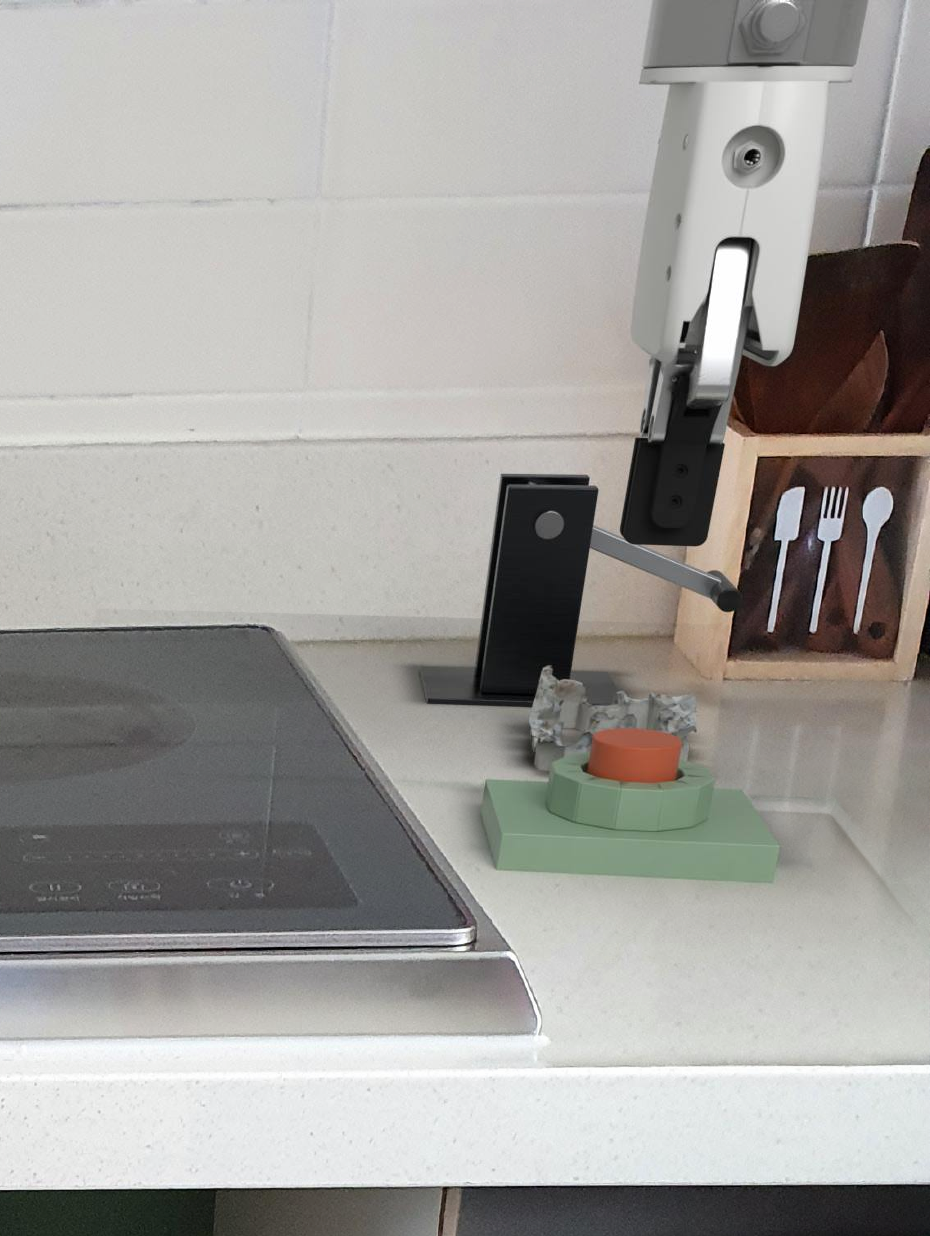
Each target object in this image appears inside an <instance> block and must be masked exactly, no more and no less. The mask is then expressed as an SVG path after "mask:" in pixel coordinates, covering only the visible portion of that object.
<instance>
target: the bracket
mask: <svg viewBox="0 0 930 1236" xmlns="http://www.w3.org/2000/svg"><path fill="white" fill-rule="evenodd" d="M590 480H591V478H590V475H588V474H573V473H571V474H568V473H567V474H565V473H564V474H563V473H562V474H561V473H559V474H558V473H557V474H556V473H500V477H499V483H498V484H499V485H498V491H497V500H496V507H495V514H494V521H493V529H492V537H491V542H490V543H491V545H490V551H489V559H488V567H487V573H486V582H485V588H484V597H483V604H482V612H481V618H480V619H481V620H480V628H479V635H478V641H477V649H476V657H475V663H474V667H463V666H462V667H459V666H457V667H456V666H431V665H429V666H427V665H426V666H425V665H421V666H419V675H420V676H419V677H420V681H421V684H422V688H423V693H424V697H425V701H426V704H427V705H449V706H450V705H453V706H477V707H478V706H481V707H507V708H508V707H509V708H510V707H511V708H532V706H533V702H534V699H535V696H536V692H537V688H538V684H539V680H540V676H541V672H542V670H543V668H544V667H545V666H547V665H548V666H549V665H551V668H552V669H553V671H552V676H554V677H555V678H556V679H558V680H559V681H560V680H562V679H570V680H575V681H578V682H581V683H583V685H584V686H585V691H586V696H587V700H586V702H588V703H589V704H591V705H592V706H600V705H602V706H609V705H611V704H612V701H613V696H614V695H615V694H616V693H617V692H618V691H620V690H619V689H618V687H617V685H616V683H615V682H614V680H613V678H612V676H611V675H610V673H609V671H597V670H596V671H594V670H592V671H591V670H590V671H589V670H572V669H573V662H574V655H575V648H576V641H577V635H578V629H579V621H580V615H581V610H582V609H581V608H582V603H583V595H584V590H585V583H586V574H587V569H588V563H589V555H590V550H591V548H590V544H591V537H592V530H593V525H594V523H595V518H596V510H597V504H598V497H599V488H598V486H597V485H590ZM528 482H532V483H535V484H537V485H527V484H528Z"/></svg>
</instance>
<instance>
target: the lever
mask: <svg viewBox="0 0 930 1236" xmlns="http://www.w3.org/2000/svg"><path fill="white" fill-rule="evenodd" d="M527 485H537V484H535V483H532V482H528V484H527ZM590 550H593V551H595V552H598V553H601V554H602V555H605V556H608V557H610V558H613V559H615V560H617V561H619V562H623V563H625V564H627V565H629V566H632V567H634V568H636V569H638V570H641V571H644V572H645V573H648V574H651V575H653V576H655V577H658V578H660V579H662V580H665V581H667V582H670V583H672V584H674V585H676V586H679V587H682V588H684V589H686V590H689V591H691V592H693V593H696V594H698V595H701V596H703V597H705V598H708V599H710V600H711V601H712V602H713V603H714V605H715V606H716V607H717V608H718V609H719V610H720V611H721V612H724V613H732V612H734V611H736V610H738V609H739V608H740V607H741V605H742V603H743V594H742V592H740V591H739V589H738V588H737V587H736V586H735V585H734V584H733V582H732V581H730V580H729V579H728V578H727V577H726V575H725V574H723V572H721V571H720V570H718V569H712V570H709V571H707V572H706V571H704V570H702V569H699V568H697V567H695V566H692V565H690V564H687V563H685V562H683V561H680V560H678V559H676V558H673V557H671V556H668V555H667V554H664V553H662V552H658V551H657V550H654V549H652V548H649V547H647V546H646V545H635V544H630V543H628V542H627V541H626V540H625V539H624V537H623V536H622V535H619V534H616V533H614V532H611V531H608V530H606V529H604V528H602V527H599V526H596V525H594V524H593V530H592V537H591V544H590Z"/></svg>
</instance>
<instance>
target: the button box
mask: <svg viewBox="0 0 930 1236" xmlns="http://www.w3.org/2000/svg"><path fill="white" fill-rule="evenodd" d="M589 757H590V753H581V754H571V755H567V756H565V757H563V758H561V759H558V760H556V761H554V762H552V763H551V767H550V771H549V773H548V774H549V775H548V781H539V780H536V781H535V780H517V779H516V780H514V779H491V778H490V779H489V778H487V779H485V780H484V787H483V795H482V802H481V807H480V808H481V809H480V816H481V820H482V824H483V827H484V831H485V834H486V838H487V841H488V845H489V849H490V852H491V856H492V859H493V863H494V867H495V870H496V871H504V872H505V871H508V872H524V873H525V872H527V873H546V874H547V873H548V874H549V873H550V874H567V875H568V874H569V875H589V876H610V877H611V876H612V877H629V878H632V877H633V878H653V879H673V880H696V881H715V882H733V883H734V882H735V883H753V884H755V883H756V884H774V881H775V875H776V870H777V864H778V859H779V854H780V849H781V845H780V844H779V842H778V841H777V839H776V838H775V837H774V835H773V834H772V832H771V830H770V829H769V827H768V826H767V824H766V823H765V822H764V820H763V818H762V817H761V815H760V814H759V813H758V811H757V810H756V808H755V806H754V805H753V803H752V802H751V801H750V799H749V798H748V797H747V795H746V793H745V792H744V790H743V789H741V788H737V789H736V788H714V787H715V784H716V783H715V782H716V778H715V776H714V775H713V773H712V772H711V770H710V769H709V768H708V767H706V766H703V765H701V764H697V763H695V762H692V761H689V760H687V761H686V760H683V759H679V764H678V770H677V776H676V781H670V782H660V783H638V782H621V781H615V780H609V779H603V778H598V777H595V776H593V775H590V774H587V770H588V763H589Z"/></svg>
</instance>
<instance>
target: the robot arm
mask: <svg viewBox="0 0 930 1236" xmlns="http://www.w3.org/2000/svg"><path fill="white" fill-rule="evenodd" d="M868 4H869V0H652V1H651V6H650V11H649V12H650V13H649V19H648V25H647V31H646V37H645V44H644V49H643V55H642V61H641V68H642V69H641V70H640V76H639V82H638V85H649V86H651V85H652V86H654V85H657V86H659V85H660V86H666V85H668V92H667V97H666V101H665V102H666V103H665V108H664V113H663V119H662V124H661V130H660V136H659V139H658V141H657V142H658V146H657V150H656V151H657V152H656V157H655V162H654V167H653V173H652V179H651V184H650V185H651V186H650V191H649V196H648V202H647V208H646V213H645V220H644V227H643V231H642V239H641V245H640V252H639V259H638V264H637V265H638V266H637V271H636V272H637V273H636V279H635V281H636V282H635V286H634V287H635V288H634V293H633V294H634V296H633V304H632V311H631V312H632V313H631V322H630V323H631V325H630V334H631V340H632V342H633V343H634V344H635V345H636V346H638V347H639V349H641V350H642V351H643V352H645V353H646V354H648V355H649V360H648V371H647V376H646V384H645V391H644V397H643V404H642V412H641V417H640V425H639V437H637V436H635V438H634V443H633V449H632V455H631V460H630V466H629V472H628V478H627V484H626V485H627V486H626V490H625V496H624V501H623V507H622V513H621V519H620V524H619V533H620V536H621V537H623V538H624V539H625V540H626V541H627V542H628V543H630V544H635V545H642V546H668V547H669V546H670V547H700V546H702V545H703V544H704V543H706V541H707V540H708V537H709V532H710V527H711V522H712V516H713V510H714V506H715V505H714V504H715V500H716V494H717V489H718V483H719V479H720V472H721V467H722V464H723V463H722V462H723V456H724V451H725V446H726V444H725V442H724V440H725V435H726V432H727V426H728V422H729V419H730V418H729V417H730V413H731V408H732V404H733V399H734V394H735V389H736V386H737V380H738V375H739V372H740V366H741V362H742V358H743V356H744V357H747V358H749V359H751V360H753V361H755V362H757V363H759V364H761V365H763V366H766V367H776V366H778V365H780V364H782V363H783V362H784V361H785V360H786V359H787V358H789V356H790V355H791V353H792V351H793V348H794V345H795V340H796V333H797V329H798V323H799V322H798V321H799V316H800V315H799V314H800V308H801V304H802V303H801V302H802V296H803V295H802V294H803V288H804V282H805V277H806V270H807V263H808V257H809V251H810V245H811V238H812V231H813V226H814V219H815V212H816V207H817V199H818V192H819V186H820V179H821V173H822V171H821V170H822V164H823V156H824V155H823V154H824V148H825V138H826V128H827V118H828V104H829V87H830V86H829V85H830V84H847V83H852V82H853V79H854V74H855V69H856V67H855V65H856V64H857V61H858V55H859V50H860V45H861V40H862V36H863V35H862V34H863V30H864V25H865V20H866V15H867V9H868Z"/></svg>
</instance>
